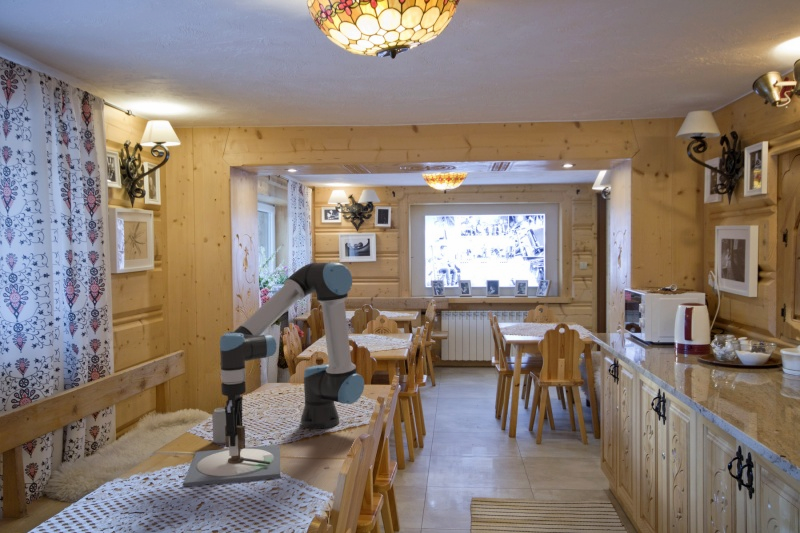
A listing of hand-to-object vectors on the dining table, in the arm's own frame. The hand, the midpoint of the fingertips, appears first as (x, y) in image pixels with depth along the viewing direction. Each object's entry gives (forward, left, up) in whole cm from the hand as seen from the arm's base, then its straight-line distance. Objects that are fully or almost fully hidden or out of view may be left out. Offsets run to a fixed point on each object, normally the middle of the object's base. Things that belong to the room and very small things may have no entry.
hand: (235, 453), depth 195 cm
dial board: (0, 0, -4) cm, 4 cm away
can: (+6, -27, -4) cm, 28 cm away
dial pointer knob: (-4, +3, -2) cm, 6 cm away
